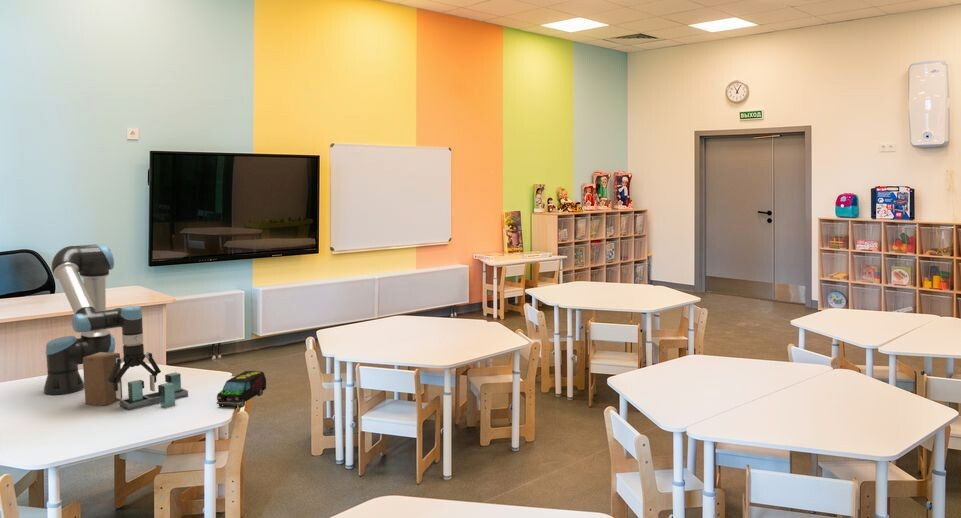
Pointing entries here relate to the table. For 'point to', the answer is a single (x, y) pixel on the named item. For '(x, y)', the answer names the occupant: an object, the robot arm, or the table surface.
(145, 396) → the rail
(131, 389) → the teal rectangular block
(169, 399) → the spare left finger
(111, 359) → the wooden block
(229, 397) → the toy van
